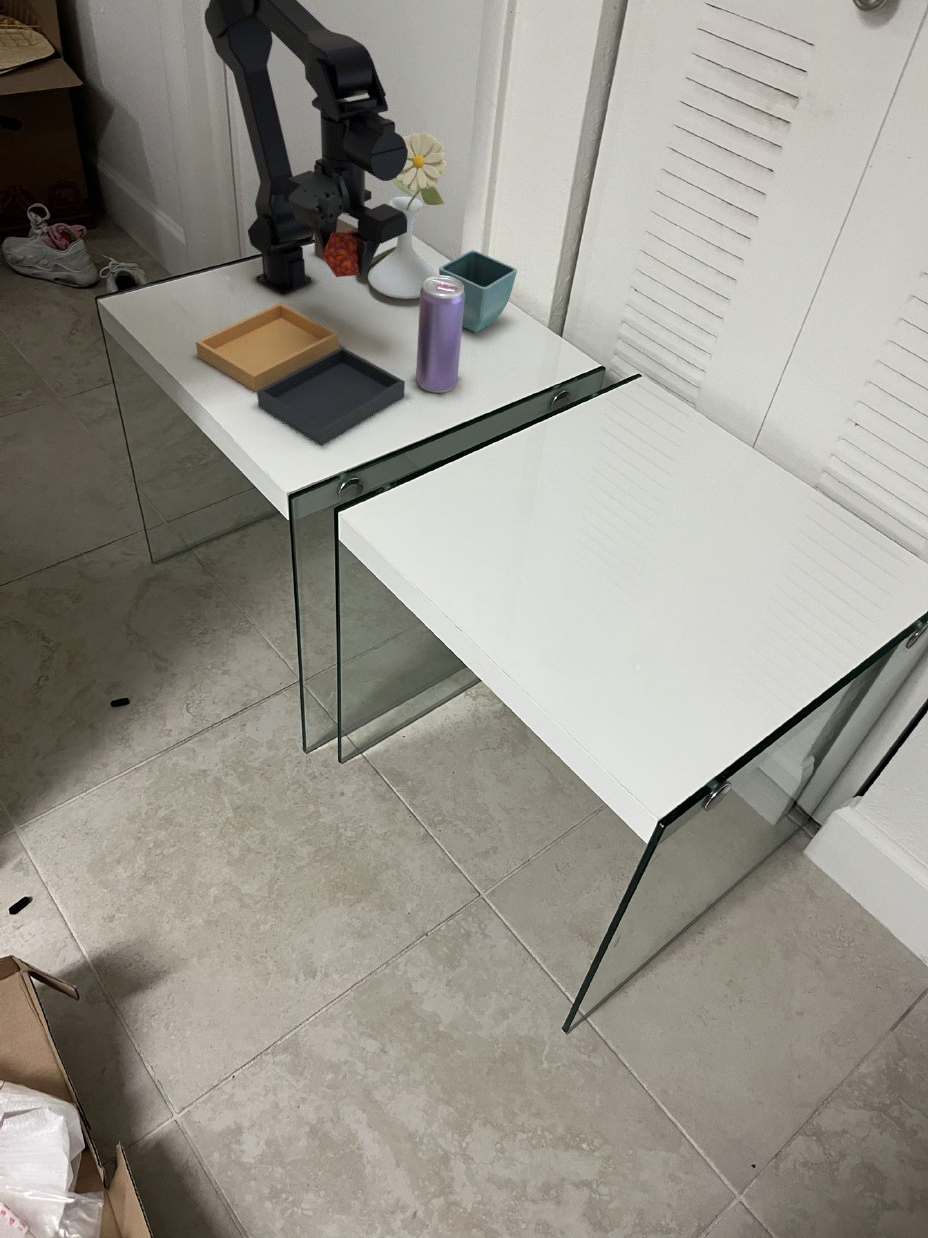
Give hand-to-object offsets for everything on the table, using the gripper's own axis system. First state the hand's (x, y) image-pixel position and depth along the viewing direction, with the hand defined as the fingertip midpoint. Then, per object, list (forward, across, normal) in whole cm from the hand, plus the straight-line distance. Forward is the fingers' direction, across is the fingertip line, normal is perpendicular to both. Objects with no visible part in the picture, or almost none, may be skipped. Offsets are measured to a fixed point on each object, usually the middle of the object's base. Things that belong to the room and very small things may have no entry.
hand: (345, 265), depth 136 cm
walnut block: (+10, -18, +16) cm, 26 cm away
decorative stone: (+1, 0, 0) cm, 1 cm away
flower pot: (+11, +12, +16) cm, 23 cm away
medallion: (+7, -9, +16) cm, 20 cm away
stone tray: (+10, +12, -15) cm, 22 cm away
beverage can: (+11, +19, -1) cm, 22 cm away
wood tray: (+10, -3, -13) cm, 17 cm away
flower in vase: (+10, -2, +16) cm, 19 cm away
